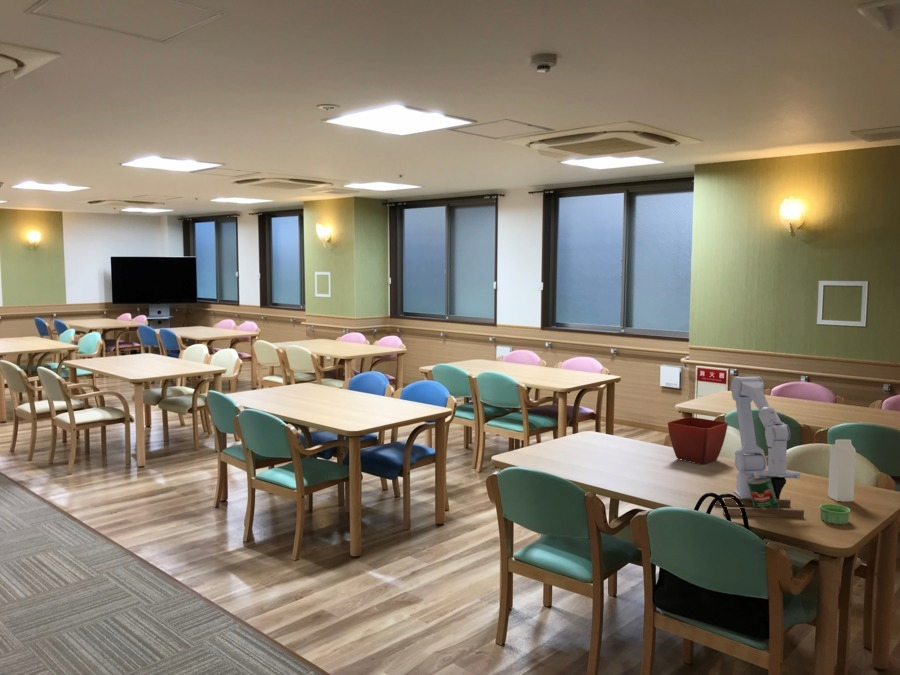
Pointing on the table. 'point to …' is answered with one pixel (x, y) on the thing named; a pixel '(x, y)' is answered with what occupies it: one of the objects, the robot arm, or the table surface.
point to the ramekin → (835, 513)
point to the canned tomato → (762, 492)
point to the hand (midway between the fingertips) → (776, 498)
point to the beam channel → (762, 509)
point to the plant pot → (697, 439)
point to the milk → (842, 470)
